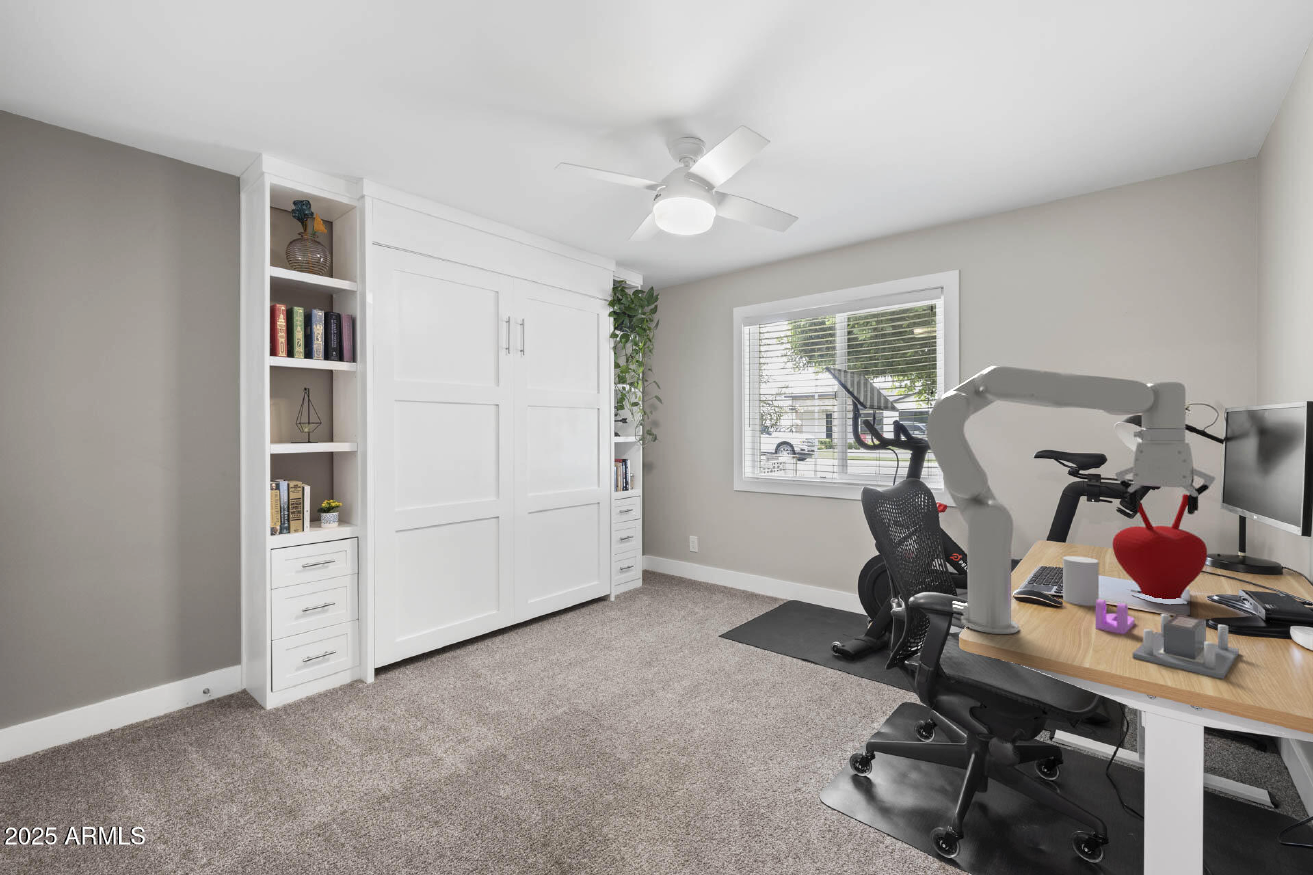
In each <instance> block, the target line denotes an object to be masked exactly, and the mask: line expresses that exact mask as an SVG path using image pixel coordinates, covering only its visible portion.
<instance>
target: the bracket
mask: <svg viewBox="0 0 1313 875" xmlns="http://www.w3.org/2000/svg"><path fill="white" fill-rule="evenodd" d="M1106 601H1107V600H1106V599H1105V600H1104V599H1100V598H1099V599H1097V601H1096V606H1094V607H1095V629H1096V630H1103V631H1107V632H1111V633H1115V634H1120V635H1125V634H1126V633H1127V632H1128V631H1129V630H1130V629H1131V628H1132V627H1133V626H1134V625H1135V618H1134V617H1132V616H1130V615H1128V614H1129V613H1128V612H1129V608H1128V604H1127V603H1122V602H1118V604H1117V605H1116V613H1107V602H1106Z"/></svg>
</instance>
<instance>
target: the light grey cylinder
mask: <svg viewBox="0 0 1313 875" xmlns="http://www.w3.org/2000/svg"><path fill="white" fill-rule="evenodd" d="M1099 564H1100V562H1099V560H1098V559H1097V558H1096V559H1095V558H1093V557H1092V558H1090V557H1085V556H1076V555H1070V556H1069V555H1068V556H1063V557H1062V586H1063V587H1062V591H1063V592H1062V596H1063V597H1062V600H1063V601H1064V602H1066V603H1069V604H1072V605H1078V606H1086V607H1096V601H1097V599H1099V600H1100V597H1099V596H1100V595H1099V594H1100V593H1099V592H1100V591H1099V588H1100V586H1099V585H1100V584H1099V583H1100V582H1099V580H1100V579H1099V575H1100V574H1099V573H1100V572H1099V566H1100V565H1099Z"/></svg>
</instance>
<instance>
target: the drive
mask: <svg viewBox="0 0 1313 875" xmlns="http://www.w3.org/2000/svg"><path fill="white" fill-rule="evenodd" d="M1204 642H1207V619H1203V618H1198V617H1193V616H1186V615H1180V614H1176V613H1175V615H1173V616H1172V617H1170V620H1169V621H1168V622H1166V623H1165V624H1164V653H1167V654H1171V655H1175V656H1180V657H1184V658H1189V659H1193V660H1195V659H1196V658H1197V657H1198V656H1199V655H1200V654H1201V652H1202V651H1203V650H1204Z"/></svg>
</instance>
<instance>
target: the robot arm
mask: <svg viewBox="0 0 1313 875" xmlns="http://www.w3.org/2000/svg"><path fill="white" fill-rule="evenodd" d="M1186 396H1187V395H1186V387H1185V384H1183V383H1182V382H1177V381H1176V382H1175V381H1165V382H1164V381H1163V382H1151V383H1147V384H1146V383H1144V382H1143V381H1138V380H1135V379H1134V380H1132V379H1124V378H1116V377H1107V376H1096V375H1087V374H1085V375H1084V374H1075V373H1066V372H1057V371H1046V370H1038V369H1031V368H1022V367H1014V366H1013V367H1012V366H1005V365H992V366H990V367H988V368H985V369H984V370H982V371H980V372H979V373H977V374H976V375H974V376H973V377H971V378H970V379H968V380H966V381H965V382H963V383H961V384H960V385H957V386H955V387H954V388H953V389H951V390H949V391H947V392H946V393H944V394H942V395H940V396H939V397H938V398H937V399H936V400H935V402H934V404H933V407H932V409H931V411H930V413H929V415H928V418H927V421H926V429H925V431H926V434H925V435H926V439H927V443H928V445H929V448H930V450H931V452H932V454H933V457H934V458H935V461H936V462H937V464H938V467H939V468H940V470H941V472H942V478H943V483H944V485H945V486H944V487H945V488H946V490H947V491H948V494H949V495H950V498H951V499H952V501H953V503H954V504H955V506H956V508H957V510H958V512H959V513H960V515H961V517H962V519H963V521H964V522H965V524H966V526H967V529H968V530H967V531H968V532H967V546H966V547H967V552H966V554H967V557H966V558H967V560H966V561H967V562H966V563H967V602H966V603H962V602H958V601H952V604H951V606H952V610H953V611H955V612H959V613H962V614H963V615H962V616H961V617H960V623H961V624H962V625H963V626H965V627H966V628H968V626H970V627H969V629H971V630H974V631H978V632H982V633H985V634H986V633H988V634H996V635H1008V634H1009V635H1010V634H1011V635H1012V634H1016V633H1017V632H1018V631H1019V630H1020V627H1019V626H1020V625H1019V623H1017V621H1015V620H1012V545H1013V544H1012V542H1013V533H1014V520H1013V517H1012V514H1011V512H1010V511H1009V510H1008V508H1007V507H1006V506H1005V505H1003V503H1001V502H999V501H998V499H997V498H996V496H995V494H994V493H993V490H992V489H991V487H990V485H989V479H988V475H987V473H986V471H985V469H984V468H983V467H982V465H981V464H980V461H979V460H978V457H976V454H975V453H974V451H973V449H972V448H971V445H970V443H969V441H968V440H967V438H966V434H965V424H966V423H967V421H968V420H969V419H970V417H971V416H973V415H975V414H977V413H978V412H980V411H982V410H984V409H985V408H987V407H989V406H990V405H992V404H994V403H995V402H996V401H1001V402H1009V403H1014V404H1022V405H1023V404H1024V405H1029V406H1036V407H1037V406H1038V407H1043V408H1052V409H1053V408H1056V409H1067V408H1070V409H1071V408H1074V409H1075V408H1076V409H1088V410H1098V411H1099V410H1101V411H1103V412H1105V413H1107V414H1109V415H1112V416H1127V415H1128V416H1129V415H1138V414H1141V429H1140V430H1138V431H1133V437H1134V438H1137V439H1140V440H1141V442H1137V443H1136V445H1135V450H1134V457H1133V466H1132V467H1131V466H1130V467H1128V468H1126V469H1123V470H1120V471H1118V472H1116V473H1115V476H1116V478H1117V480H1118V482H1119V483H1120V485H1121V486H1122V487H1123V488H1124V489H1126V490H1127V492H1129V506H1132V510H1133V511H1136V510H1137V511H1138V509H1139V508H1140V502H1141V493H1140V492H1139V490H1140V488H1142V486H1144V487H1145V486H1148V487H1163V488H1165V487H1166V488H1183V489H1184V490H1185V491H1187V493H1189V494H1188V495H1189V496H1188V505H1187V514H1188V515H1194V514H1195V511H1196V512H1198V511H1199V496H1200V495H1201V494H1203V493H1205V492H1206V491H1207V490H1209V489H1210V488H1211V486H1212V485H1213V484H1214V482H1215V481H1216V480H1217V479H1216V477H1215V476H1214V475H1211V474H1209V473H1206V472H1204V471H1202V470H1200V469H1197V468H1195V467H1194V461H1193V453H1192V449H1191V445H1190V443H1189V442H1186ZM1130 474H1132V481H1133V484H1132V483H1131V482H1129V480H1128V479H1127V478H1126V476H1128V475H1130ZM1195 477H1197V478H1200V479H1202V480H1203V482H1202V484H1201V485H1200V486H1198V487H1196V486H1195V485H1194V480H1195Z"/></svg>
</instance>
